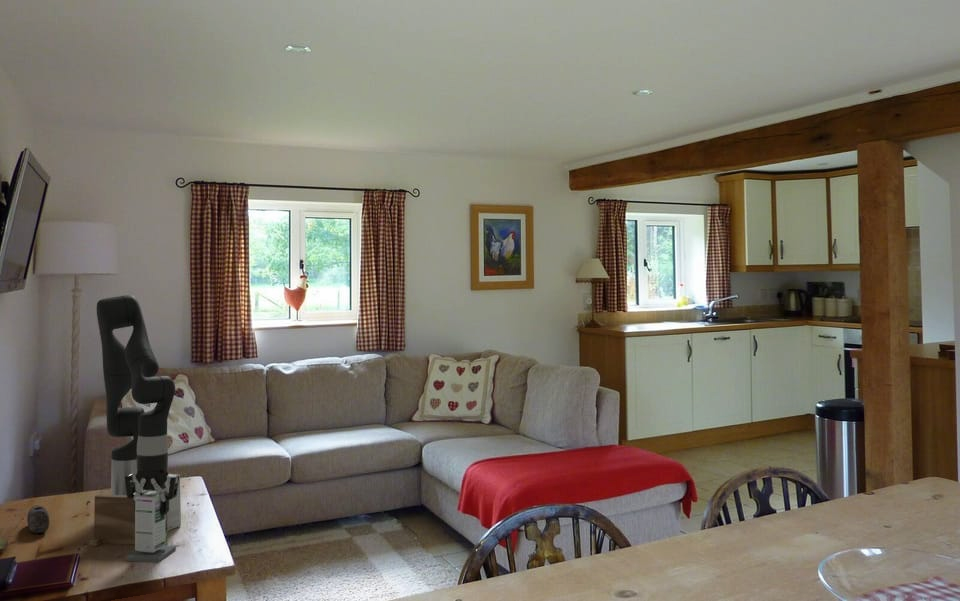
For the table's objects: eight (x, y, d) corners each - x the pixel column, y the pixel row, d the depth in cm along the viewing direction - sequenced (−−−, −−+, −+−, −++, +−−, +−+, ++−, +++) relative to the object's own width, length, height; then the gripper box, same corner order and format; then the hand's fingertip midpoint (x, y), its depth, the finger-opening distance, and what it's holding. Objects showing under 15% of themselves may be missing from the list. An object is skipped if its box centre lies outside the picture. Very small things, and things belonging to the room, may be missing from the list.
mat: (143, 548, 193) (143, 545, 193) (175, 549, 192) (175, 546, 192) (125, 560, 184) (125, 557, 184) (158, 562, 183) (158, 558, 183)
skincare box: (181, 526, 212) (182, 474, 212) (163, 533, 206) (163, 479, 206) (161, 522, 215) (162, 471, 215) (142, 528, 209) (143, 476, 209)
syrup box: (153, 553, 185) (154, 497, 185) (133, 551, 186) (135, 496, 186) (167, 545, 190) (168, 492, 190) (148, 543, 192) (149, 490, 192)
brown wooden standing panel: (102, 538, 201) (103, 492, 201) (163, 540, 200) (164, 494, 200) (89, 545, 195) (90, 498, 195) (152, 547, 194) (153, 500, 194)
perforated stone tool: (25, 524, 212) (25, 501, 212) (45, 521, 216) (46, 498, 216) (28, 538, 200) (28, 513, 200) (50, 534, 203) (50, 510, 203)
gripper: (185, 449, 192) (184, 511, 192) (134, 447, 192) (133, 509, 192) (171, 455, 184) (170, 519, 184) (118, 453, 185) (117, 517, 185)
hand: (151, 514), depth 188 cm, fingers closed on syrup box, 6 cm apart
